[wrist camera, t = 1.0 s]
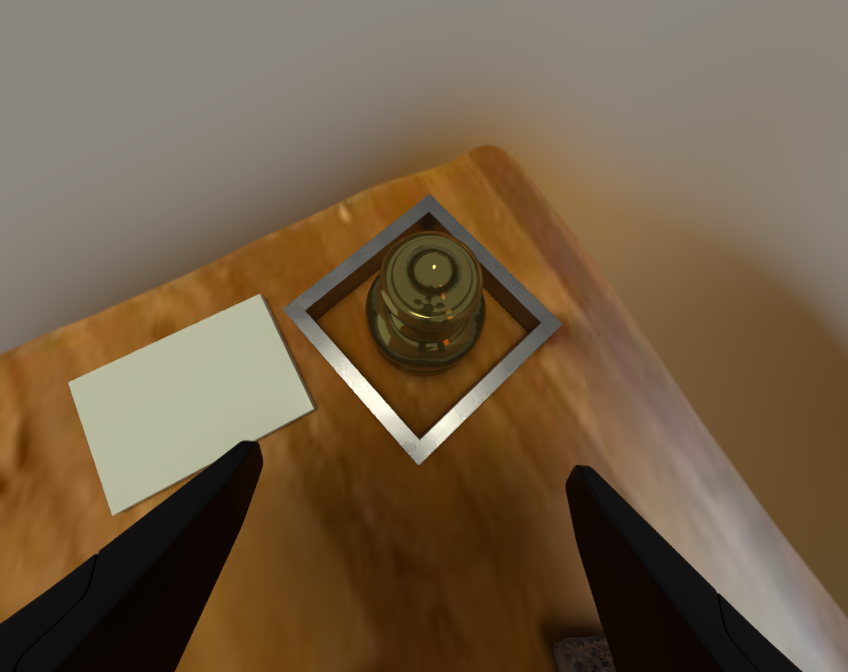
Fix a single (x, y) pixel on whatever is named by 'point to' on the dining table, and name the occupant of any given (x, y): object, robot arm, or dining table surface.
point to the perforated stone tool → (583, 655)
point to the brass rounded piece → (426, 303)
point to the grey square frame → (370, 260)
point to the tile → (188, 401)
